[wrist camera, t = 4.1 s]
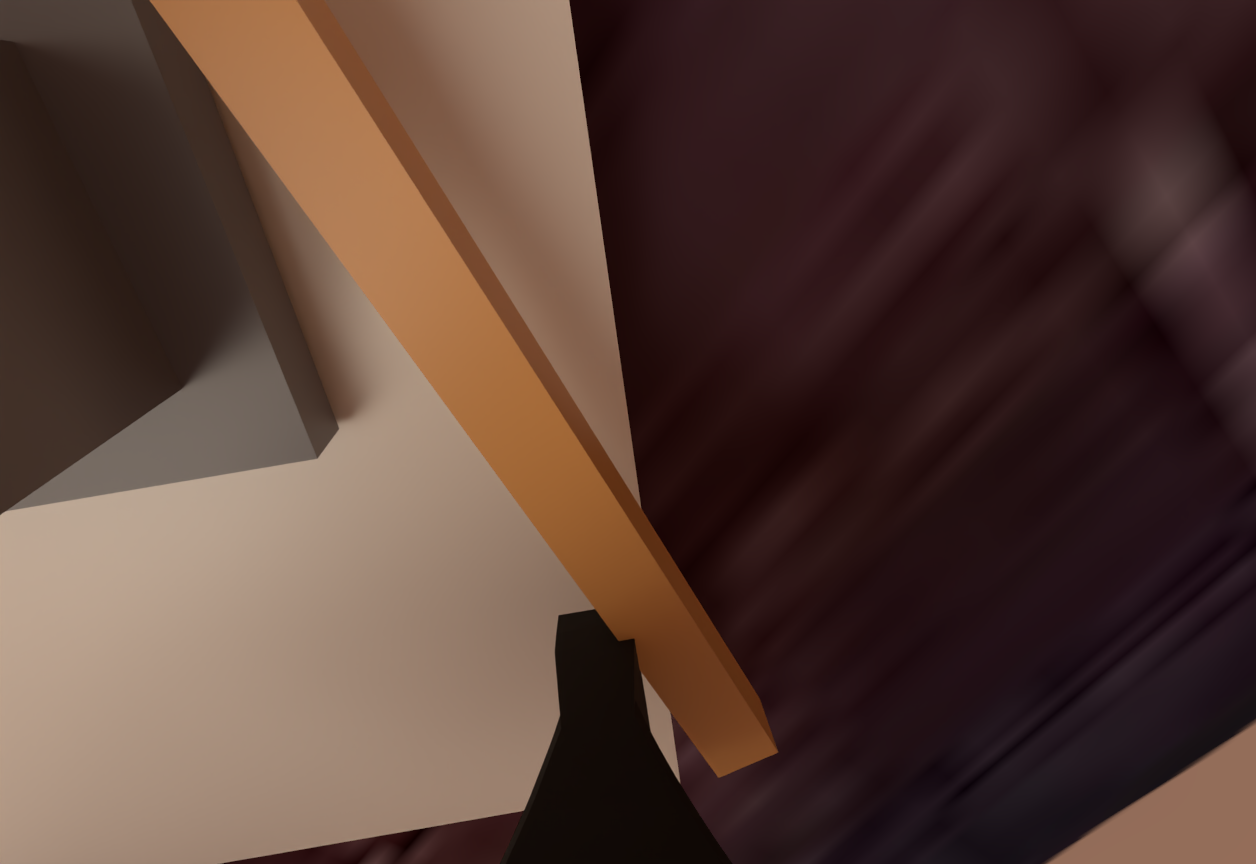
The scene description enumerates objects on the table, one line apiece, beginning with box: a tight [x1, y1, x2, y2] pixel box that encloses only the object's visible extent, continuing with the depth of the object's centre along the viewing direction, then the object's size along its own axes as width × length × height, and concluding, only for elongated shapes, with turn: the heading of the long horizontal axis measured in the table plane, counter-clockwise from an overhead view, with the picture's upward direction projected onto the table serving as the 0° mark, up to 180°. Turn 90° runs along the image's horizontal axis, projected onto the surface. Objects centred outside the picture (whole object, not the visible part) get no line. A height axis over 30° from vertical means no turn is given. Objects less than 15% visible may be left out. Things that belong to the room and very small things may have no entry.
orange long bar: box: [150, 0, 778, 778], centre depth 7 cm, size 16×2×2 cm, turn 28°
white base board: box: [0, 0, 680, 864], centre depth 10 cm, size 20×14×2 cm
